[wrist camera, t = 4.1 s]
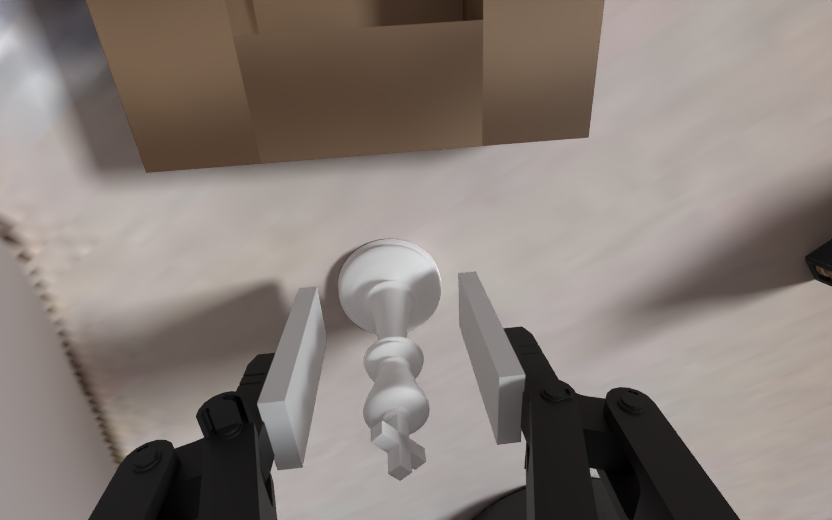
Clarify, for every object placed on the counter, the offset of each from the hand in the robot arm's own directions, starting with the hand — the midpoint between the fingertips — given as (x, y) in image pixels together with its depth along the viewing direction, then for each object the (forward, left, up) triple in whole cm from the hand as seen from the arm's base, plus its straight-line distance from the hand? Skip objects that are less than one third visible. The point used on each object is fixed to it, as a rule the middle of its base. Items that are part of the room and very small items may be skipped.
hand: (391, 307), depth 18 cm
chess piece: (0, 0, -2) cm, 2 cm away
